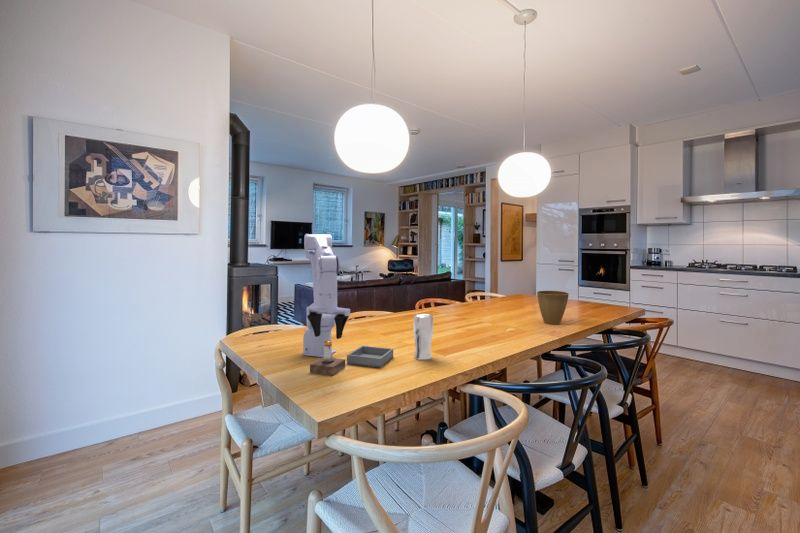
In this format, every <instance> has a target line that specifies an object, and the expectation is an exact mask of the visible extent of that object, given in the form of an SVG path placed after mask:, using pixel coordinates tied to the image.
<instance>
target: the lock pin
mask: <svg viewBox="0 0 800 533" xmlns="http://www.w3.org/2000/svg"><path fill="white" fill-rule="evenodd" d="M332 346H333V342H332V340H331V341H324V363H325V364H331V363H332V358H333V353H332V350H333V347H332Z"/></svg>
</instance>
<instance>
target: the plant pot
mask: <svg viewBox="0 0 800 533" xmlns="http://www.w3.org/2000/svg"><path fill="white" fill-rule="evenodd" d="M536 292H537V293H536V294H537V302H538V306H539V307H538V308H539V311H540V315H541V317H542V321H543V322H544V324H547V325H555V326H556V325H560V324H561V322H562V320H563V318H564V314H565V312H566V308H567V306H568V305H567V304H568V300H569V295H570V293H569V292H566V291H561V290H538V291H536Z"/></svg>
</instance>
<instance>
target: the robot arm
mask: <svg viewBox="0 0 800 533" xmlns="http://www.w3.org/2000/svg"><path fill="white" fill-rule="evenodd" d="M303 241H304V242H303V244H304V245H303V246H304V256H305V258H306V259H308V260H309V262H310V264H311V273H312V274H311V275H312V290H313V303H311V304H310V305H309V306H307V307H306V309H305V310H306V315H305V316H306V317H305V318H306V329H305V330H304V333H303V339H302V340H303V343H302V344H303V353H301V354H302V356H307V357H308V356H309V357H317V358H318V357H319V358H322V357H324V341H332V330H333V328H335V331H336V332H335V336H336V340H339V339H342V337H343V332H344V329H345V326H346V323H347V321H348V319H349V317H350V316H351V309H350V308H344V307H338V274H339V272H340V260H339V256H338V255H337V254H336V255H335V254H334V252H333V249H332V248H333V237H332V235H331V234H330V233H328V234H325V233H324V234H320V233H317V234H313V233H310V234H309V233H305V234H304V239H303ZM336 352H337V350H336V349H332V354H334V353H336Z"/></svg>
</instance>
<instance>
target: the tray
mask: <svg viewBox="0 0 800 533" xmlns="http://www.w3.org/2000/svg"><path fill="white" fill-rule="evenodd" d="M393 358H394V349H393V348H389V347H388V348H387V347H380V346H379V347H378V346H369V345H361V346H359V347H357V348H356V349H355V350H352V351H350V353H348V354H346V364H347V365H352V366H359V367H369V368H378V369H381V368H382V367H383V366H384V365H386V364H387V363H389V362H390V361H391V360H392V359H393Z"/></svg>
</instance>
